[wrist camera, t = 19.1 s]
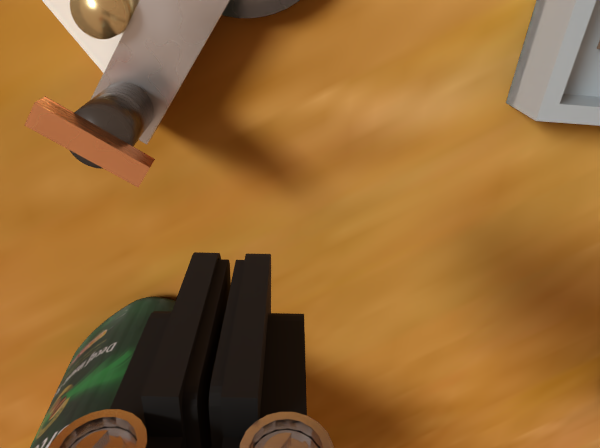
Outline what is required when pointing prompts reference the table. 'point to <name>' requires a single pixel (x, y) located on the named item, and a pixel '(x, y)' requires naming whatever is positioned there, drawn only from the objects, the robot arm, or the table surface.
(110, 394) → the coffee jar
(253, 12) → the hub
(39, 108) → the crank
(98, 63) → the plate
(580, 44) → the tray
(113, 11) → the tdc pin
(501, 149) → the table surface
